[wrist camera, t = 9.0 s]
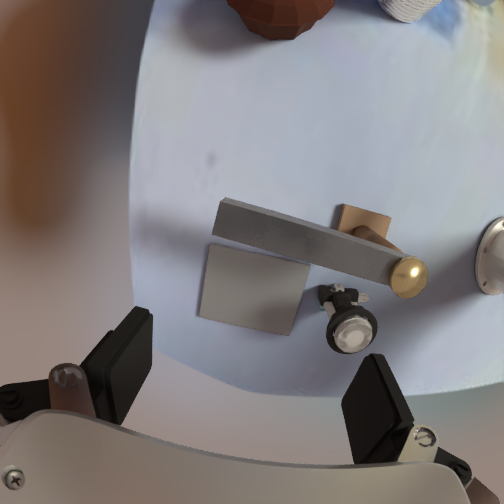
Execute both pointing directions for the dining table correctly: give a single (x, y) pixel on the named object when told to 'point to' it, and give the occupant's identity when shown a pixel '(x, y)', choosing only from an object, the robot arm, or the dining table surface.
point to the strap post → (365, 225)
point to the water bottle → (407, 8)
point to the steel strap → (319, 246)
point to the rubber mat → (252, 289)
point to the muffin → (281, 16)
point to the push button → (346, 319)
